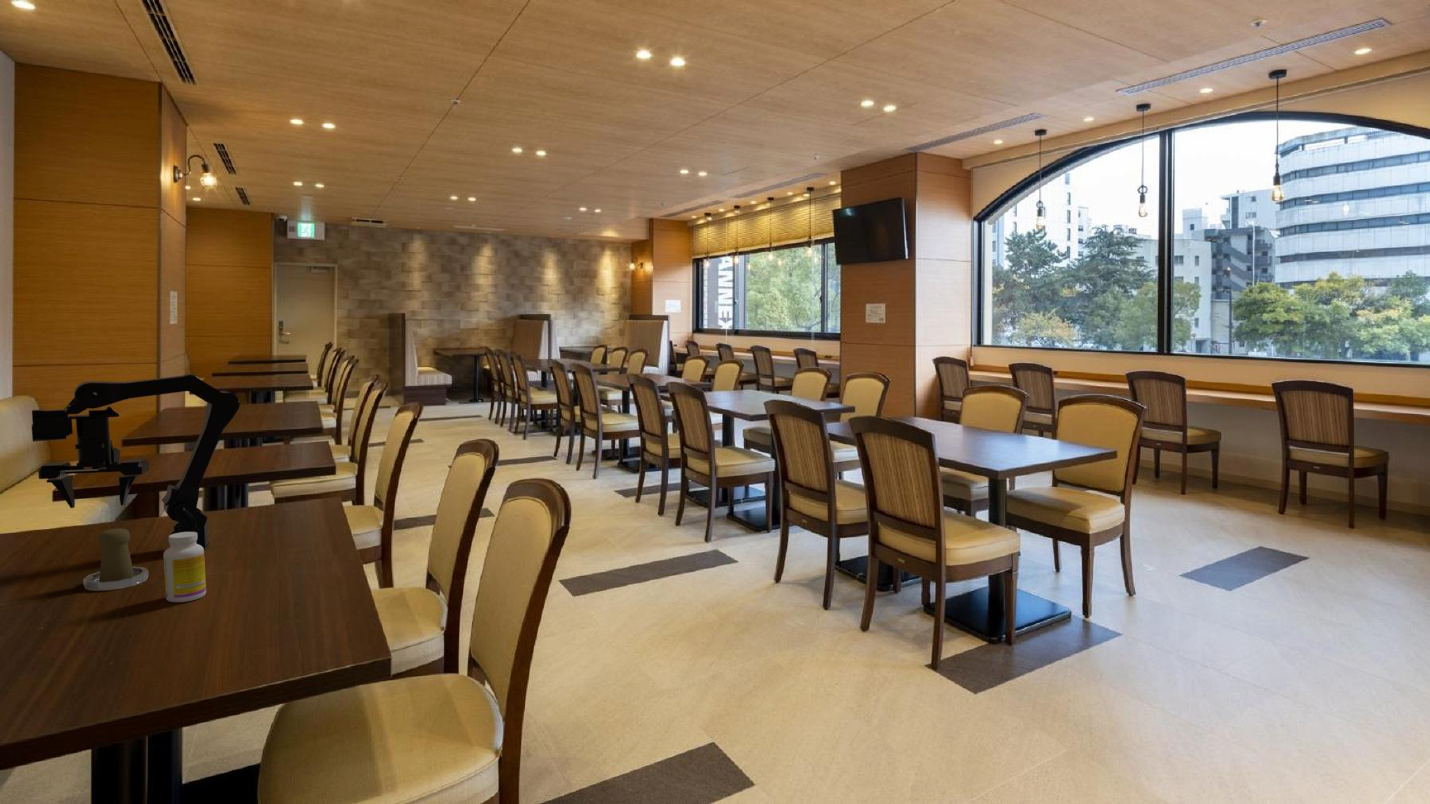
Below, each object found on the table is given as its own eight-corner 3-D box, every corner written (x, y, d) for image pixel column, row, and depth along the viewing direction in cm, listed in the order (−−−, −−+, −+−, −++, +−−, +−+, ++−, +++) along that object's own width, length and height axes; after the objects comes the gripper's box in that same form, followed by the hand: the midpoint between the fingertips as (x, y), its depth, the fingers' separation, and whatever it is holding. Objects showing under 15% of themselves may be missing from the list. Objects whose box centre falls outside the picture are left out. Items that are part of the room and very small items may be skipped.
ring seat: (154, 572, 167) (154, 564, 167) (138, 587, 157) (137, 579, 157) (96, 577, 163) (95, 569, 163) (75, 593, 154) (75, 585, 153)
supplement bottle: (214, 594, 154) (211, 532, 153) (182, 605, 148) (178, 540, 147) (190, 590, 156) (187, 528, 155) (157, 600, 150) (154, 537, 149)
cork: (115, 586, 157) (112, 534, 156) (91, 584, 158) (87, 532, 157) (142, 577, 163) (139, 526, 162) (118, 575, 164) (115, 525, 163)
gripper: (155, 431, 181) (158, 496, 183) (57, 434, 175) (62, 501, 176) (139, 438, 171) (143, 506, 172) (34, 441, 164) (39, 512, 166)
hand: (97, 506), depth 172 cm, fingers open, 9 cm apart
